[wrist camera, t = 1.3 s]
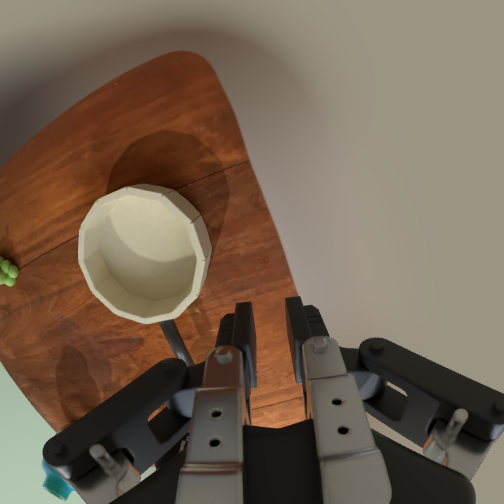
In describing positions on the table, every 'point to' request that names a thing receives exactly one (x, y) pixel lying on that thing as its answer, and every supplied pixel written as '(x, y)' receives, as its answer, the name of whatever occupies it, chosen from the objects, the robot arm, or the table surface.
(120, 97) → the table surface
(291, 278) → the table surface
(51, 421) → the table surface
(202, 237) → the pan
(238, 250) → the table surface
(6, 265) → the grapes
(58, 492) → the vase
